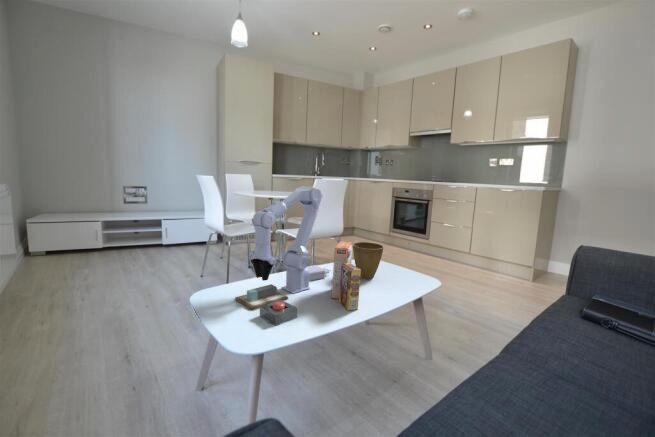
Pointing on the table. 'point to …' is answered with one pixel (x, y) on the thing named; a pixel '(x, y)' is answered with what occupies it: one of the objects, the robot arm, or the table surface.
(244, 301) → the wooden picture frame
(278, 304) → the button
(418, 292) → the table surface
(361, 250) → the plant pot
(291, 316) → the button housing
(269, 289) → the marker
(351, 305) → the candy box
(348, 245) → the cracker box
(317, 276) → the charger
